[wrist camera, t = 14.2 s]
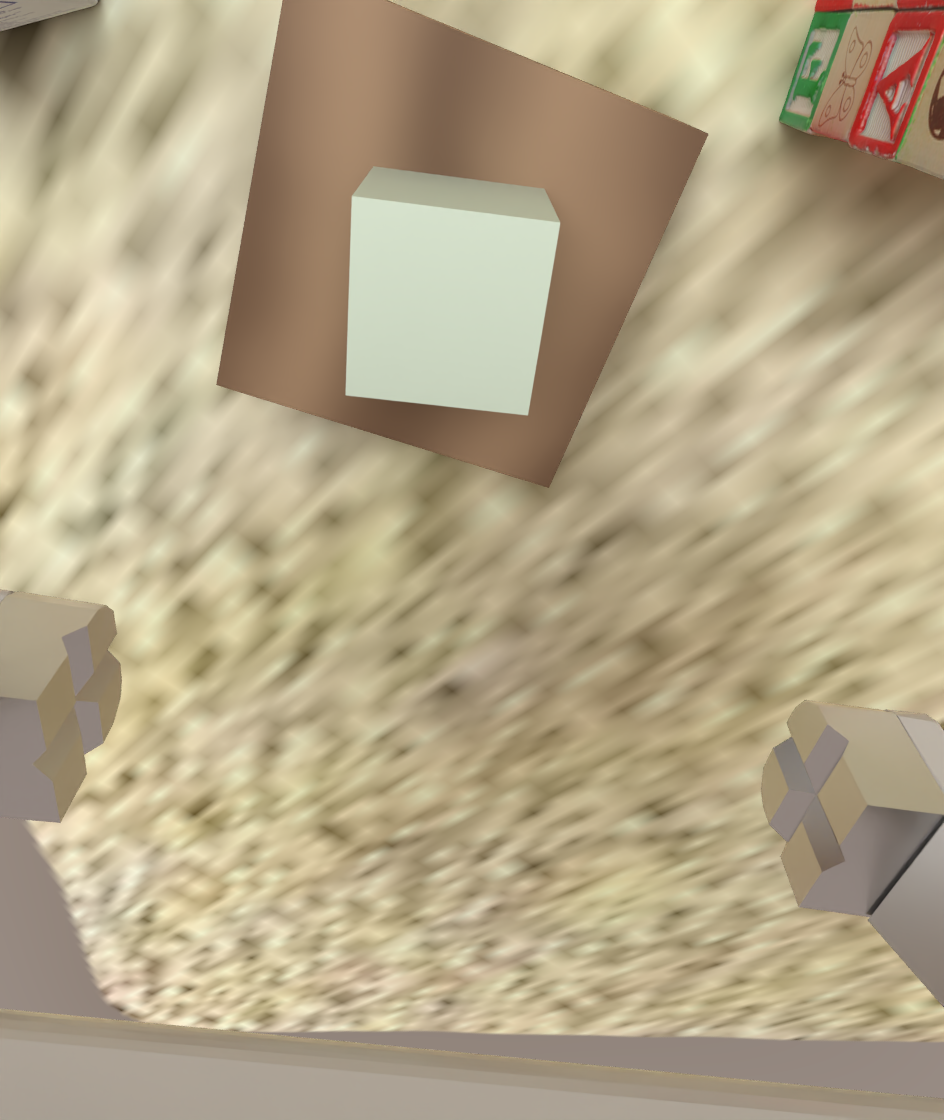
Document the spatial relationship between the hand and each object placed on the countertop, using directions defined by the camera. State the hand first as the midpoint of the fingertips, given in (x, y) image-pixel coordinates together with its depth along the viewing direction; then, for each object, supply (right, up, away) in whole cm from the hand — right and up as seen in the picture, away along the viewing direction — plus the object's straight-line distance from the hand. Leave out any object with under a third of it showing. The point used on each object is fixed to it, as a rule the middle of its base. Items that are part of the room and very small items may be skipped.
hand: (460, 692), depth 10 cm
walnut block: (-1, +13, +19) cm, 23 cm away
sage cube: (-1, +11, +15) cm, 18 cm away
